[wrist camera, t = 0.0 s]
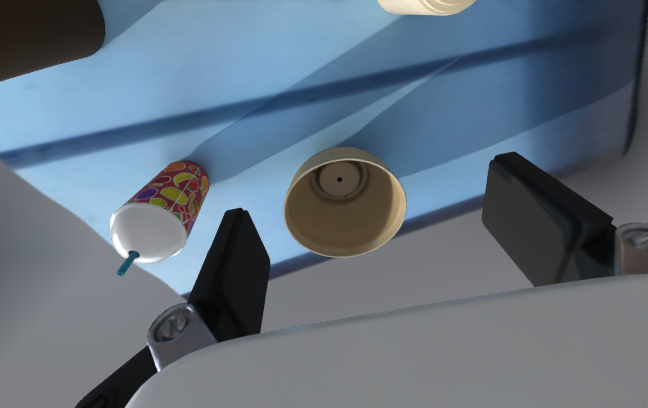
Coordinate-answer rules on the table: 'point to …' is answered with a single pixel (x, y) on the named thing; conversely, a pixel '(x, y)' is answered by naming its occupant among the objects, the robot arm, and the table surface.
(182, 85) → the table surface
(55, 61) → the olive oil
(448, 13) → the bottle
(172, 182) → the smoothie
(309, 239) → the planter bowl
